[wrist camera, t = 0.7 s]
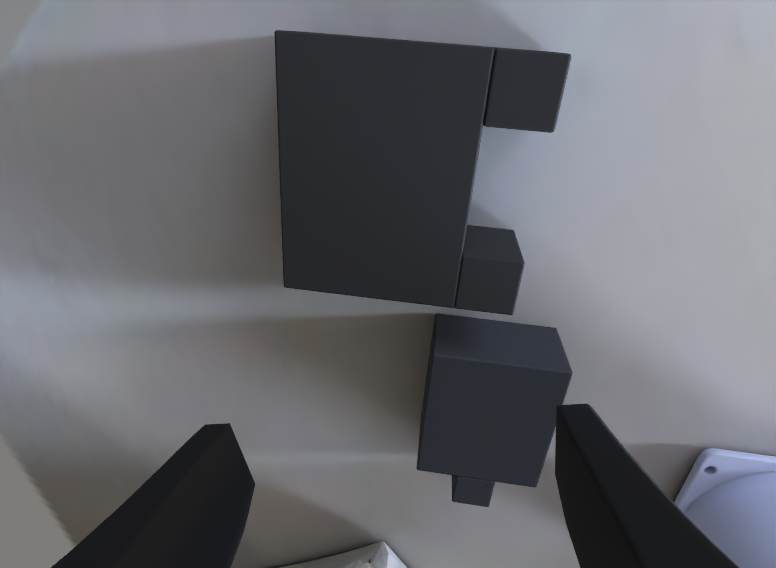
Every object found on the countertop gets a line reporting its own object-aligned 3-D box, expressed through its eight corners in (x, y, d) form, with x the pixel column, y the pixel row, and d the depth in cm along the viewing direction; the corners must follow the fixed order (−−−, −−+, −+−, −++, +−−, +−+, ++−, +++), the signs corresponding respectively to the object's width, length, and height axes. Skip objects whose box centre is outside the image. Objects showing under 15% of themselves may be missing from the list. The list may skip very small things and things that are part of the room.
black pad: (504, 277, 19) (513, 316, 16) (306, 254, 19) (283, 287, 17) (551, 51, 15) (573, 53, 12) (304, 32, 16) (273, 29, 13)
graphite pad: (556, 327, 19) (573, 372, 17) (519, 459, 23) (528, 513, 20) (435, 312, 20) (432, 354, 17) (417, 444, 23) (412, 496, 21)
